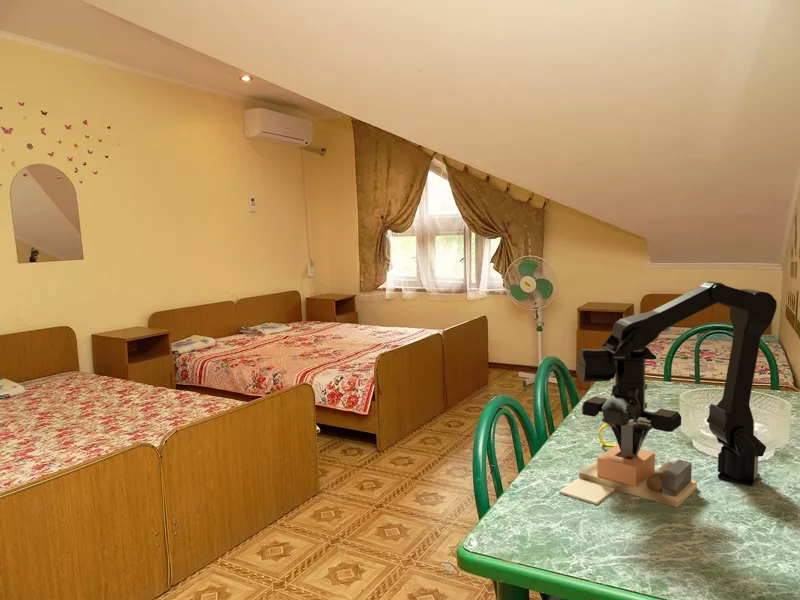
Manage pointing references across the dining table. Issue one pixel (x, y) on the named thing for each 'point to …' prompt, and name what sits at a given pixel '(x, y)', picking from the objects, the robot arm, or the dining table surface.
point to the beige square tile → (587, 491)
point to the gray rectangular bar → (628, 440)
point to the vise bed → (638, 488)
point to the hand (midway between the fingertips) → (629, 452)
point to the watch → (601, 438)
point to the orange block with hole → (625, 466)
